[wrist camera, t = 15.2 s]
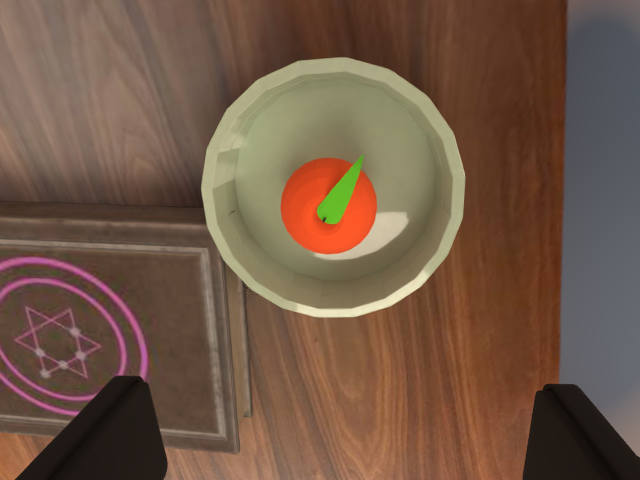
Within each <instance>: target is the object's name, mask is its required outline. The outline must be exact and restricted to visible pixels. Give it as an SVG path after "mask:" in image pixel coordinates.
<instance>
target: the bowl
mask: <svg viewBox="0 0 640 480" xmlns="http://www.w3.org/2000/svg"><path fill="white" fill-rule="evenodd" d="M363 153H364V157H363V162H362V166H361V171H363V172H364V173H365V174H366V176H367V177H368V179H369V180H370V181H371V183H372V185H373V188H374V191H375V193H376V198H377V212H376V217H375V221H374V224H373V226H372V228H371V230H370V232H369V234H368V235H367V236H366V237H365V238H364V240H363V241H362V242H361V243H360V244H358V245H357V246H355V247H354V248H352V249H351V250H348V251H345V252H342V253H339V254H321V253H315V252H313V251H310V250H308V249H306V248H304V247H302V246H301V245H300V244H298V243H297V242H296V241H295V240H294V239H293V238H292V237H291V235H290V234H289V233H288V232H287V230H286V228H285V225H284V223H283V221H282V216H281V209H280V206H281V197H282V193H283V190H284V188H285V185H286V183H287V181H288V179H289V178H290V177H291V175H292V174H293V173H294V171H296V170H297V169H298V168H300V167H301V166H302V165H304V164H305V163H308V162H310V161H313V160H315V159H320V158H329V157H330V158H337V159H343V160H345V161H347V162H349V163H352V164H355V163H356V161H357V160H358V159H359V158H360V157H361V156H362V155H363ZM201 192H202V198H203V204H204V210H205V216H206V222H207V227H208V230H209V232H210V234H211V236H212V238H213V240H214V242H215V244H216V246H217V248H218V250H219V252H220V254H221V256H222V258H223V260H224V261H225V262H226V263H227V265H228V266H229V267H230V268H231V269H232V270H233V271H234V272H235V273H236V274H237V275H238V276H239V277H240V279H241V280H242V281H243V282H244V283H245V284H246V285H247V286H248V287H249V288H250V289H251V290H253V291H254V292H256V293H258V294H259V295H261V296H263V297H264V298H266V299H268V300H269V301H271V302H273V303H274V304H276V305H278V306H279V307H282V308H284V309H287V310H291V311H295V312H298V313H302V314H306V315H309V316H313V317H356V316H360V315H363V314H367V313H370V312H373V311H377V310H380V309H384V308H387V307H389V306H392V305H393V304H395V303H397V302H398V301H400V300H401V299H403V298H404V297H406V296H407V295H409V294H410V293H412V292H414V291H415V290H417V289H418V288H420V287H421V286H422V285H423V284H424V283H425V281H426V280H427V279H428V278H429V277H430V276H431V274H432V273H433V272H434V271H435V270H436V268H437V267H438V266H439V265H440V264H441V262H442V261H443V260H444V259H445V258H446V256H447V255H448V253H449V250H450V248H451V246H452V243H453V241H454V238H455V236H456V233H457V231H458V228H459V226H460V224H461V221H462V218H463V207H464V192H465V172H464V168H463V165H462V161H461V157H460V154H459V150H458V146H457V143H456V139H455V136H454V134H453V131H452V130H451V128H450V127H449V125H448V124H447V123H446V121H445V120H444V118H443V117H442V115H441V114H440V113H439V111H438V110H437V108H436V107H435V105H434V104H433V102H432V101H431V100H430V98H429V97H427V95H426V94H424V93H423V92H422V91H420V90H419V89H417V88H416V87H415V86H413V85H412V84H410V83H409V82H407V81H406V80H405V79H403V78H402V77H400V76H399V75H398V74H396V73H395V72H393V71H392V70H389V69H388V68H384V67H380V66H377V65H373V64H369V63H366V62H362V61H358V60H355V59H351V58H347V57H337V58H325V59H312V60H300V61H297V62H294V63H292V64H290V65H288V66H286V67H283V68H281V69H279V70H277V71H275V72H273V73H270V74H268V75H266V76H264V77H262V78H259V79H258V80H256V81H255V82H254V83H253V84H252V85H251V86H250V87H249V88H248V89H247V90H246V91H245V92H244V93H243V94H242V95H241V96H240V97H239V98H238V99H237V100H236V101H235V102H234V103H233V104H232V105H231V106H229V107H228V108H227V110H226V111H225V113H224V115H223V117H222V119H221V121H220V123H219V125H218V127H217V129H216V131H215V133H214V135H213V137H212V139H211V141H210V143H209V145H208V147H207V150H206V156H205V163H204V170H203V177H202V184H201ZM232 211H235V212H233V213H231V214H229V215H228V213H230V212H232Z"/></svg>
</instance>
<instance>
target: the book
mask: <svg viewBox="0 0 640 480" xmlns="http://www.w3.org/2000/svg"><path fill="white" fill-rule="evenodd" d="M233 212H235V211H232V212H230V213H228V215H229V214H231V213H233ZM118 375H126V376H141V377H142V378H143V380H144V382H147V383H148V385H149V388H150V392H151V396H152V400H153V404H154V408H155V412H156V416H157V420H158V425H159V429H160V433H161V437H162V441H163V445H164V448H173V449H183V450H194V451H205V452H216V453H226V454H237V455H238V454H239V452H240V441H239V429H238V428H239V425H240V422H241V420H242V418H243V417H249V418H251V417H252V415H253V410H252V395H251V379H250V364H249V348H248V332H247V317H246V301H245V286H244V282H243V281H242V280H241V279H240V277H239V276H238V275H237V274H236V273H235V272H234V271H233V270H232V269H231V268H230V267H229V266H228V265H227V263H226V262H225V261H224V260H223V258H222V256H221V254H220V252H219V250H218V248H217V246H216V244H215V242H214V240H213V238H212V236H211V234H210V232H209V230H208V227H207V222H206V216H205V210H204V208H191V207H161V206H130V205H100V204H69V203H39V202H8V201H0V432H1V433H12V434H23V435H33V436H44V437H56V436H57V435H58V434H59V433H60V432H61V431H62V430H63V429H64V428H65V427H66V426H67V425H68V424H69V423H70V422H71V421H72V420H73V419H74V418H75V417H76V416H77V414H78V413H79V412H80V411H81V410H82V409H83V408H84V407H85V406H86V405H87V404H88V403H89V402H90V401H91V400H92V399H93V398H94V397H95V396H96V395H97V394H98V393H99V392H100V390H101V389H102V388H103V387H104V386H105V385H106V384H107V383H108V382H109V381H110V380H111V379H112V378H113V377H115V376H118Z"/></svg>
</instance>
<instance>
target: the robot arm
mask: <svg viewBox="0 0 640 480" xmlns="http://www.w3.org/2000/svg"><path fill="white" fill-rule="evenodd" d="M167 464H168V463H167V457H166V453H165V449H164V445H163V441H162V437H161V433H160V429H159V425H158V420H157V416H156V412H155V408H154V404H153V400H152V396H151V392H150V388H149V385H148V383H147V382H144V380H143V378H142V377H141V376H126V375H118V376H115V377H113V378H112V379H111V380H110V381H109V382H108V383H107V384H106V385H105V386H104V387H103V388H102V389H101V390H100V392H99V393H98V394H97V395H96V396H95V397H94V398H93V399H92V400H91V401H90V402H89V403H88V404H87V405H86V406H85V407H84V408H83V409H82V410H81V411H80V412H79V413H78V414H77V416H76V417H75V418H74V419H73V420H72V421H71V422H70V423H69V424H68V425H67V426H66V427H65V428H64V429H63V430H62V431H61V432H60V433H59V434H58V435H57V436H56V437H55V438H54V439H53V441H52V442H51V443H50V444H49V445H48V446H47V447H46V448H45V449H44V450H43V451H42V452H41V453H40V454H39V455H38V456H37V457H36V458H35V459H34V460H33V461H32V462H31V463H30V465H29V466H28V467H27V468H26V469H25V470H24V471H23V472H22V473H21V474H20V475H19V476H18V477H17V478H16V479H15V480H163V479H164V477H165V475H166V472H167ZM523 480H640V457H638V456H636V454H635V453H634V452H633V451H632V450H631V448H630V447H629V446H628V445H627V444H626V442H625V441H624V440H623V439H622V438H621V436H619V434H618V433H617V432H616V431H615V430H614V428H613V427H612V426H611V425H610V423H609V422H608V421H607V420H606V419H605V418H604V416H603V415H602V414H601V413H600V411H599V410H598V409H597V408H596V407H595V406H594V404H593V403H592V402H591V401H590V400H589V398H588V397H587V396H586V395H585V394H584V393H583V391H582V390H581V389H580V388H579V387H578V386H576V385H574V384H546V385H545V386H544V387H543V391H537V392H536V395H535V401H534V407H533V414H532V420H531V427H530V433H529V439H528V446H527V452H526V459H525V465H524V471H523Z"/></svg>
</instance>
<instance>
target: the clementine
mask: <svg viewBox="0 0 640 480" xmlns="http://www.w3.org/2000/svg"><path fill="white" fill-rule="evenodd" d="M363 157H364V153H363V155H362V156H361V157H360V158H359V159H358V160H357V161H356V163H355V164H352V163H349V162H347V161H345V160H343V159H337V158H330V157H329V158H320V159H315V160H313V161H310V162H308V163H305V164H304V165H302V166H301V167H300V168H298V169H297V170H296V171H294V173H293V174H292V175H291V177H290V178H289V179H288V181H287V183H286V185H285V188H284V190H283V193H282V197H281V206H280V209H281V216H282V221H283V223H284V225H285V228H286V230H287V232H288V233H289V234H290V235H291V237H292V238H293V239H294V240H295V241H296V242H297V243H298V244H300V245H301V246H302V247H304V248H306V249H308V250H310V251H313V252H315V253H321V254H339V253H342V252H345V251H348V250H351V249H352V248H354V247H355V246H357V245H358V244H360V243H361V242H362V241H363V240H364V238H365V237H366V236H367V235H368V234H369V232H370V230H371V228H372V226H373V224H374V221H375V217H376V212H377V198H376V193H375V191H374V188H373V185H372V183H371V181H370V180H369V179H368V177H367V176H366V174H365V173H364V172H363V171H361V166H362V162H363Z"/></svg>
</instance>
